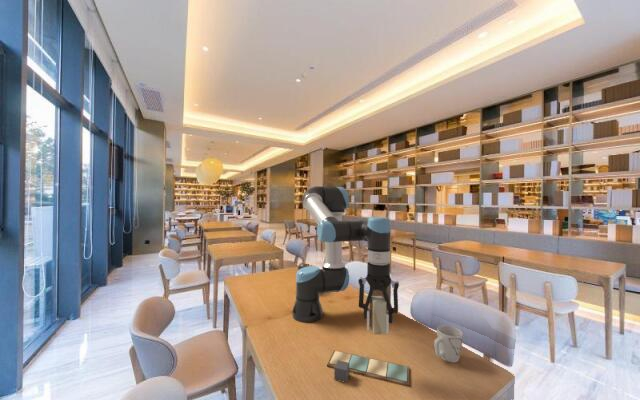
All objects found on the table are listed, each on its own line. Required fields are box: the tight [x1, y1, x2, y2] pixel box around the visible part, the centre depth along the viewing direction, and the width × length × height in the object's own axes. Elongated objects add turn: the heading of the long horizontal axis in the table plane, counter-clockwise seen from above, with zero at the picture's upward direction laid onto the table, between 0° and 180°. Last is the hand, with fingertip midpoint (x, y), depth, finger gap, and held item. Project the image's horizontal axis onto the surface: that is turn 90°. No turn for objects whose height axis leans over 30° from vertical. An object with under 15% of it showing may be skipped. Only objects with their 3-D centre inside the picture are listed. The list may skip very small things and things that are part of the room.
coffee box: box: [297, 263, 310, 271], centre depth 159 cm, size 9×6×16 cm
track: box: [326, 349, 410, 387], centre depth 87 cm, size 27×9×1 cm, turn 71°
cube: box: [333, 360, 350, 383], centre depth 82 cm, size 4×4×4 cm
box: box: [369, 296, 387, 335], centre depth 86 cm, size 5×4×11 cm
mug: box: [433, 324, 464, 364], centre depth 92 cm, size 11×8×10 cm
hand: (377, 329), depth 86 cm, fingers closed on box, 6 cm apart
